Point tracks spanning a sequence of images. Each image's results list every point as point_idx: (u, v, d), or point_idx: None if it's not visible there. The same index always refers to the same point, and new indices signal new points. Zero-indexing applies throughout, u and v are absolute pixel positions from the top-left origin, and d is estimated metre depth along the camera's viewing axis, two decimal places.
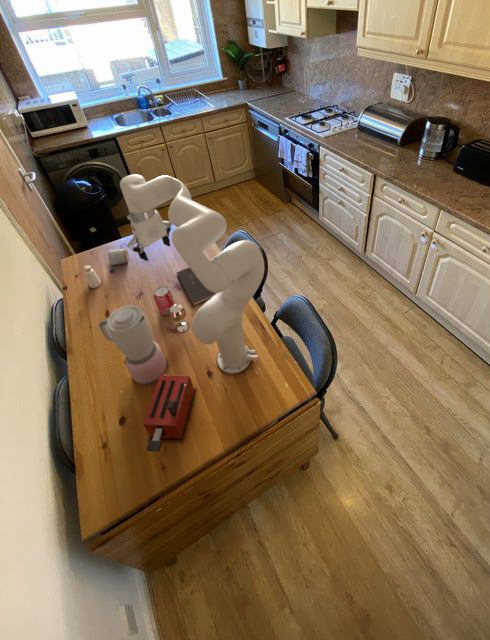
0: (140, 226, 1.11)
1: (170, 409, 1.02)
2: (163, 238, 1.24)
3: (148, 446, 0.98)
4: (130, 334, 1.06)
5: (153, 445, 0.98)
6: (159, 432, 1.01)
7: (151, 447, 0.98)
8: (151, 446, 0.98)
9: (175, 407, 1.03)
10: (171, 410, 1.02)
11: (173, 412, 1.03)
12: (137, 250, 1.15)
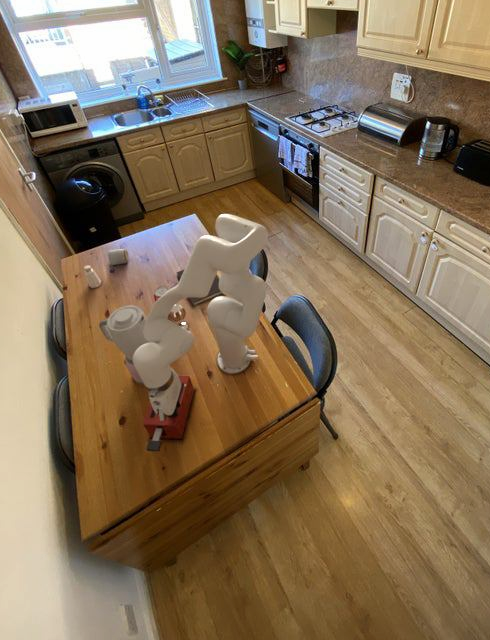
0: (166, 397, 0.92)
1: None
2: None
3: (148, 446, 0.98)
4: (130, 334, 1.06)
5: (153, 445, 0.98)
6: (159, 432, 1.01)
7: (151, 447, 0.98)
8: (151, 446, 0.98)
9: (175, 407, 1.03)
10: None
11: None
12: None
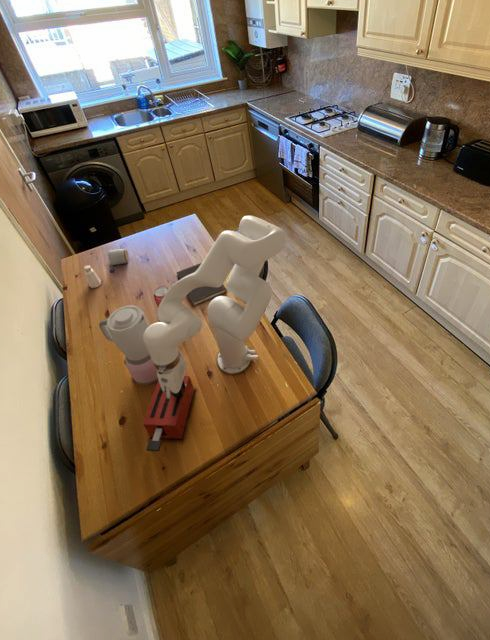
0: (173, 375, 0.98)
1: None
2: None
3: (148, 446, 0.98)
4: (130, 334, 1.06)
5: (153, 445, 0.98)
6: (159, 432, 1.01)
7: (151, 447, 0.98)
8: (151, 446, 0.98)
9: (181, 387, 1.09)
10: None
11: None
12: None
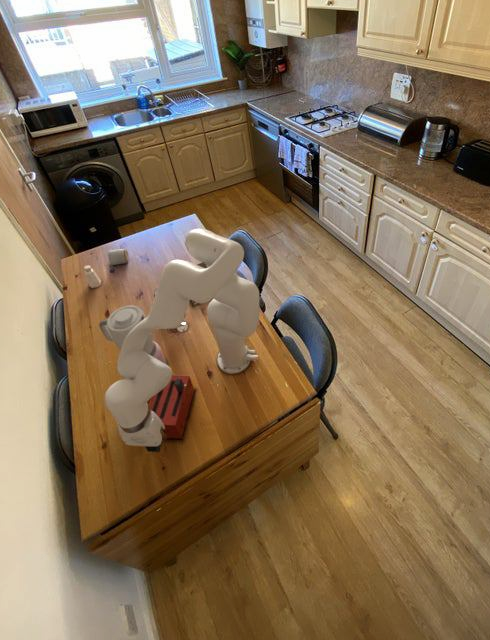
0: (120, 430, 0.87)
1: (177, 386, 1.08)
2: None
3: None
4: None
5: None
6: None
7: None
8: None
9: (181, 385, 1.09)
10: (178, 387, 1.08)
11: (180, 389, 1.09)
12: None
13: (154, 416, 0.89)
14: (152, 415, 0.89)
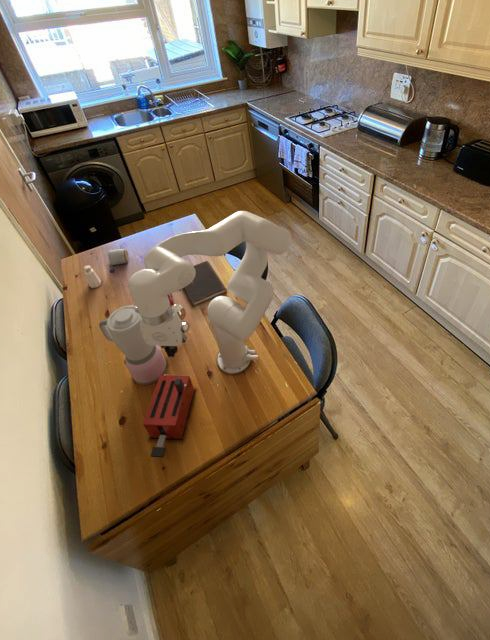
0: (142, 325, 0.88)
1: (177, 386, 1.08)
2: None
3: (152, 452, 1.01)
4: (130, 334, 1.06)
5: (157, 451, 1.01)
6: (163, 439, 1.04)
7: (155, 453, 1.01)
8: (155, 452, 1.01)
9: (181, 385, 1.09)
10: (178, 387, 1.08)
11: (180, 389, 1.09)
12: None
13: (175, 313, 0.90)
14: (173, 312, 0.90)
